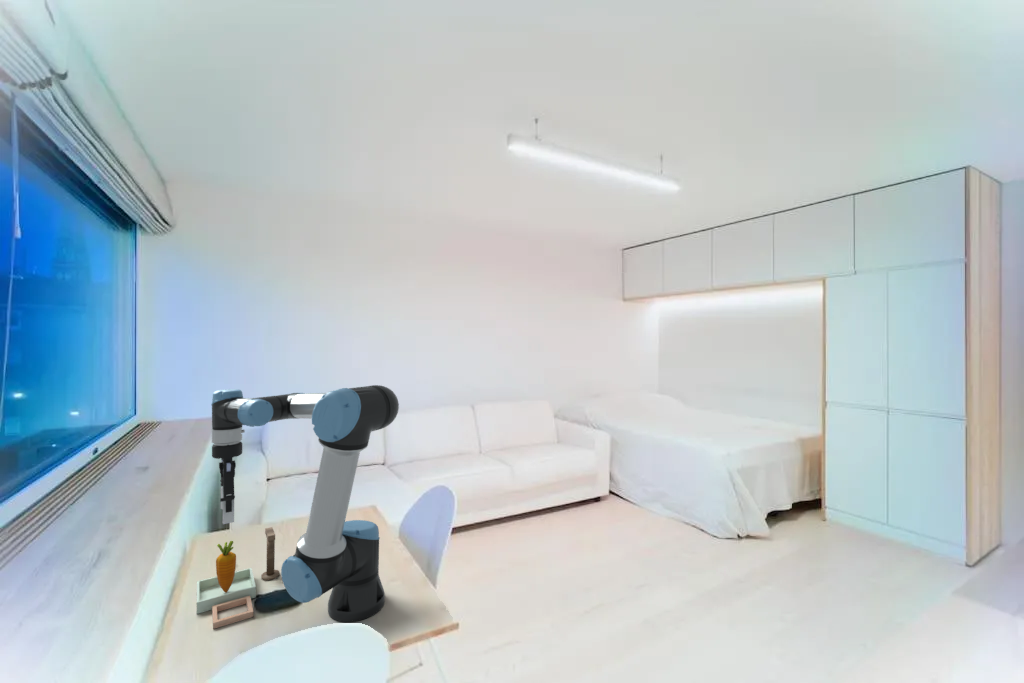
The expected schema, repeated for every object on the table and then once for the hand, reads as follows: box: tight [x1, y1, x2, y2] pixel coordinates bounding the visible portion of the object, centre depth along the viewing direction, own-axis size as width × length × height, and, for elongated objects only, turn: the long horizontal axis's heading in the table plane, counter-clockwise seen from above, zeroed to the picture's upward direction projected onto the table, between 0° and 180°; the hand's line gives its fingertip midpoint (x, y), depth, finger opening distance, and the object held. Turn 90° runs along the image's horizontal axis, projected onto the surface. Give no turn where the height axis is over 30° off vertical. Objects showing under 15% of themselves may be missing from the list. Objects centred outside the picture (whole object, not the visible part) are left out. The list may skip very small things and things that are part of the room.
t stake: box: [260, 526, 280, 582], centre depth 141 cm, size 8×5×14 cm, turn 35°
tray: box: [196, 567, 257, 615], centre depth 130 cm, size 13×14×3 cm
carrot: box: [215, 540, 237, 592], centre depth 130 cm, size 5×5×15 cm
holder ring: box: [211, 596, 254, 630], centre depth 121 cm, size 9×9×2 cm
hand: (227, 515), depth 130 cm, fingers open, 13 cm apart
